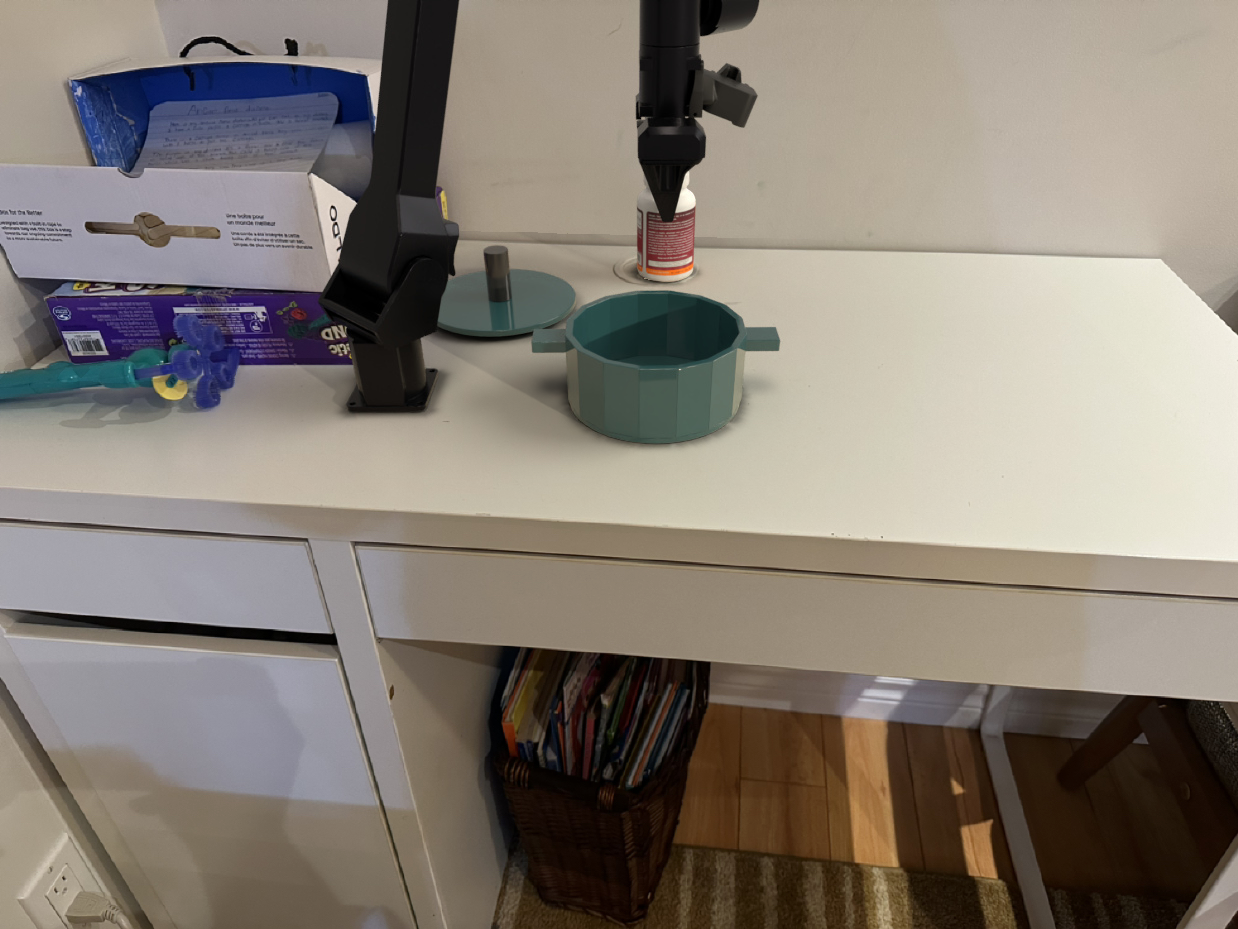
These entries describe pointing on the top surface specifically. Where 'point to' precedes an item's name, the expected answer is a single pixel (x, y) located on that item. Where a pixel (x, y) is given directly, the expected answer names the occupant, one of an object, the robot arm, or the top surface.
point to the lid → (504, 299)
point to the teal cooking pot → (655, 364)
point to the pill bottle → (665, 237)
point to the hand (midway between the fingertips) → (665, 207)
